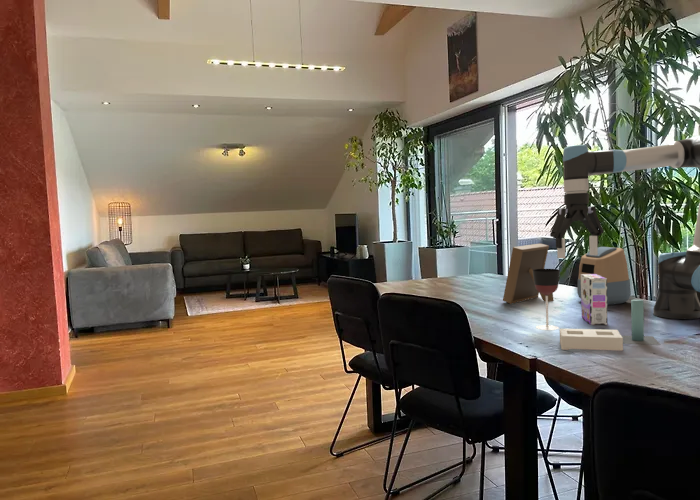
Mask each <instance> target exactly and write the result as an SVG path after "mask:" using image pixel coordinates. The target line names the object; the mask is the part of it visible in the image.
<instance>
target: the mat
mask: <svg viewBox="0 0 700 500" xmlns="http://www.w3.org/2000/svg"><path fill="white" fill-rule="evenodd" d="M621 336H622V337H623V345H624V344H625V345H626V344H627V345H656V346H658V345H660V346H661V343H660V342H659V341H658V340H657V339H656V338H655V337H654V336H652V335H651V336H649V335H647V336H646V335H645V336H644V341H634V340H632V335H621Z"/></svg>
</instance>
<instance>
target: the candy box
mask: <svg viewBox="0 0 700 500" xmlns="http://www.w3.org/2000/svg"><path fill="white" fill-rule="evenodd" d="M580 303H581V304H580V305H581V319H583V320H584V321H585V322H587V323H588V324H589V325H590V326H608V325H609V324H608V322H609V321H608V305H607V278H604V277H602V276H600V275H597V274H581V299H580Z"/></svg>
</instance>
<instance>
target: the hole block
mask: <svg viewBox="0 0 700 500" xmlns="http://www.w3.org/2000/svg"><path fill="white" fill-rule="evenodd" d="M622 336H623V335H621V333H620V332H619V330H618V329H600V328H599V329H595V328H559V343H560V348H561V350H562V351H563V350H564V351H570V350H597V351H600V350H601V351H624V344H623V337H622Z"/></svg>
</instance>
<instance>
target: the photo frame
mask: <svg viewBox="0 0 700 500" xmlns="http://www.w3.org/2000/svg"><path fill="white" fill-rule="evenodd" d="M549 247H550V245H548V244H544V243H533V244H526V245H525V244H524V245H519V246H513V247H512V251H511V256H510V260H509V266H508V270H507V271H508V272H507V276H506V277H507V278H506V281H505V282H506V283H505V287H504V292H503V298H502V301H503V302H506V303H507V304H510V305H513V304H517V303H521V302H525V301H529V300H532V299H531V298H533V299H536V298H535V297H537V298H538V297H539V295H540V297H541V299H542V301H543V302H544V301H545V302H546V296H545V295H544V294H542V293H540V292H539V291H538V290H537V289H536V287H535V284H534V278H533V270H535V269H545V267H546V266H545V265H546V262H547V257H548V254H549V253H548V252H549ZM553 293H554V292H553ZM553 293H552V294H550V295H548V302H553V301H554V294H553ZM528 299H529V300H528ZM524 300H525V301H524ZM520 301H521V302H520ZM516 302H517V303H516ZM512 303H513V304H512Z"/></svg>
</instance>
